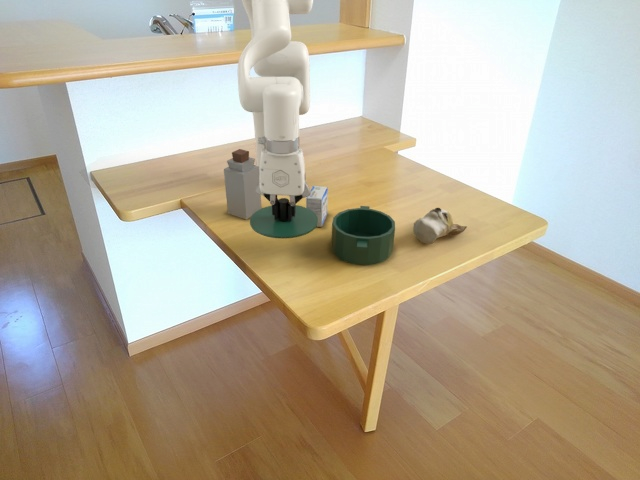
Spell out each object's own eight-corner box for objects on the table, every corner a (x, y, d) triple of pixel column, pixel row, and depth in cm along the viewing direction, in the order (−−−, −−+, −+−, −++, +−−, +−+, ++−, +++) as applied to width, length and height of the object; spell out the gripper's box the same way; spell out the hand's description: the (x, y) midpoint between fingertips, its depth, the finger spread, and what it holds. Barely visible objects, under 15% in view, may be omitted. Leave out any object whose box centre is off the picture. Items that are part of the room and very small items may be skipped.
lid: (242, 238, 109) (240, 214, 105) (258, 206, 122) (257, 184, 119) (313, 243, 107) (313, 219, 104) (321, 210, 121) (321, 188, 118)
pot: (327, 269, 113) (328, 241, 109) (335, 226, 130) (336, 201, 126) (392, 274, 111) (396, 246, 107) (391, 230, 129) (394, 205, 125)
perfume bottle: (246, 219, 133) (242, 158, 123) (227, 213, 136) (222, 153, 126) (261, 210, 138) (258, 150, 128) (243, 204, 141) (238, 145, 131)
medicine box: (321, 228, 129) (322, 199, 125) (305, 226, 130) (305, 197, 126) (327, 214, 136) (328, 186, 131) (312, 212, 137) (312, 185, 132)
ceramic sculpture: (405, 207, 121) (440, 193, 130) (400, 236, 125) (434, 222, 134) (439, 223, 114) (474, 208, 124) (433, 254, 119) (466, 237, 128)
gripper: (241, 147, 102) (246, 223, 112) (316, 152, 101) (315, 228, 110) (250, 136, 109) (254, 208, 118) (320, 140, 107) (319, 213, 117)
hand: (284, 217), depth 114 cm, fingers closed on lid, 2 cm apart
